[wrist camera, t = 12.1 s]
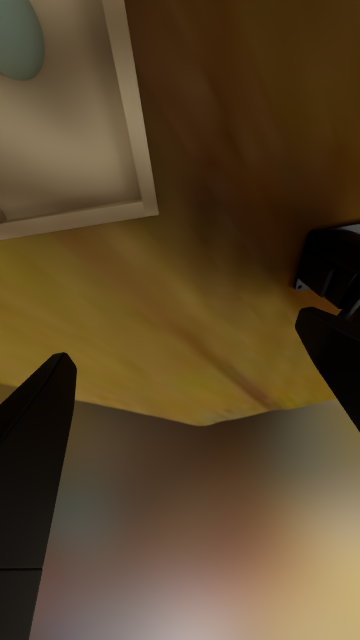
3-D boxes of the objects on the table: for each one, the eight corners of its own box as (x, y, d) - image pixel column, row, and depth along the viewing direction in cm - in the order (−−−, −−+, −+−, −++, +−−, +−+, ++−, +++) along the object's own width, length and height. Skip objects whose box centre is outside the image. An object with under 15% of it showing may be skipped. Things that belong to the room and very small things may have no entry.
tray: (-508, -581, 5) (-779, -887, 3) (26, -583, 5) (-15, -851, 4) (6, 233, 16) (-7, 241, 15) (157, 209, 17) (158, 214, 15)
